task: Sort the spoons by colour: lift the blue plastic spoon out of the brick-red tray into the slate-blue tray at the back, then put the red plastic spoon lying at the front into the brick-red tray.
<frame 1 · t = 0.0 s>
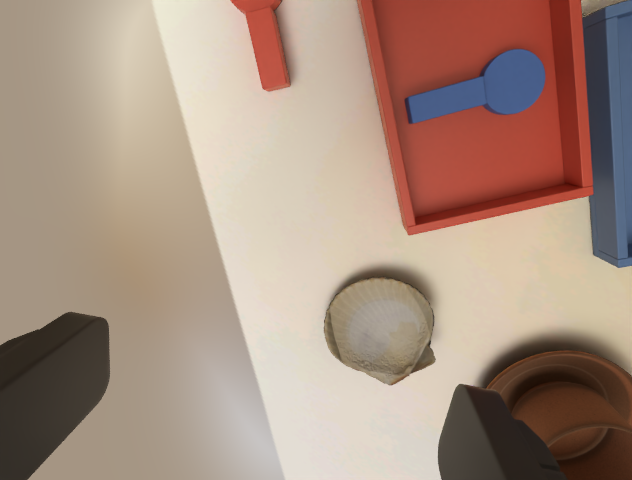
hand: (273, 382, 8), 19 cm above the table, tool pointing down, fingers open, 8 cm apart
red tray: (467, 95, 24), on the table
seashell: (378, 319, 29), on the table
blue spoon: (470, 94, 23), point 1 cm above the table, touching red tray
cup and saucer: (545, 403, 30), on the table
red spoon: (265, 23, 24), on the table
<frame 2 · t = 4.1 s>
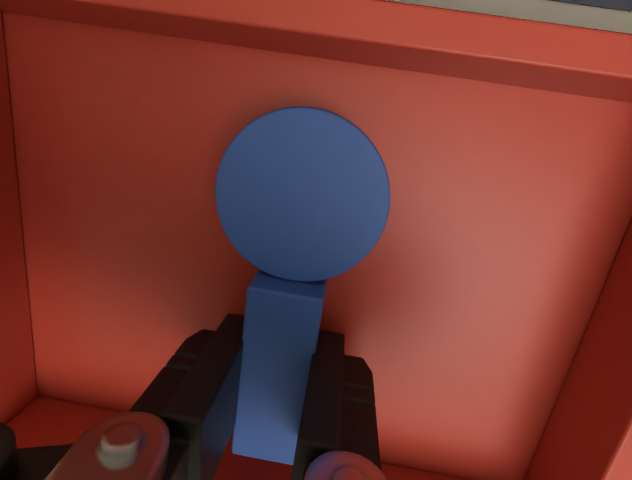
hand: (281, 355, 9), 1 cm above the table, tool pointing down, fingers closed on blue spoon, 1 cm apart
red tray: (297, 271, 10), on the table
blue spoon: (294, 280, 9), point 1 cm above the table, touching gripper, red tray
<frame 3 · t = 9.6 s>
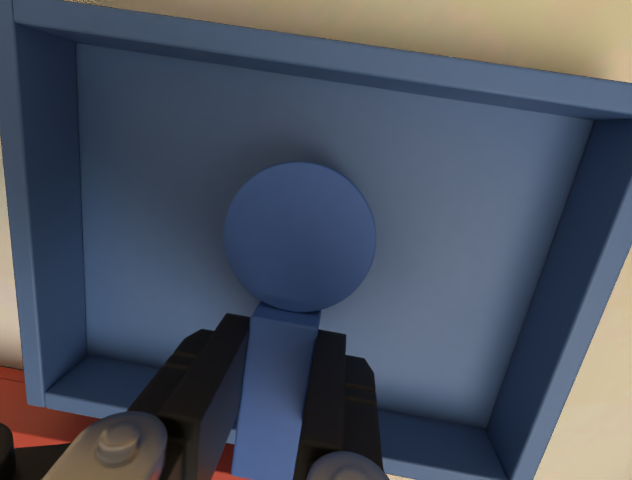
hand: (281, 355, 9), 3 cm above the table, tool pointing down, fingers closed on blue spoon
blue tray: (304, 249, 12), on the table
blue spoon: (291, 311, 10), point 2 cm above the table, touching blue tray, gripper
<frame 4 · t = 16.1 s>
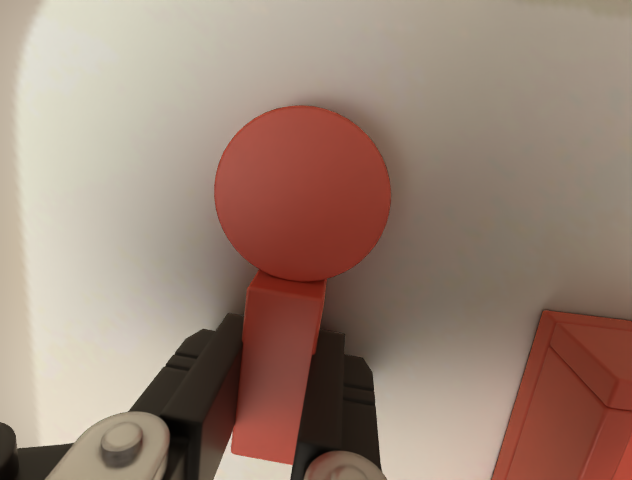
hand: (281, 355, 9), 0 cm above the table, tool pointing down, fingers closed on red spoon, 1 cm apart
red spoon: (293, 280, 9), on the table, touching gripper
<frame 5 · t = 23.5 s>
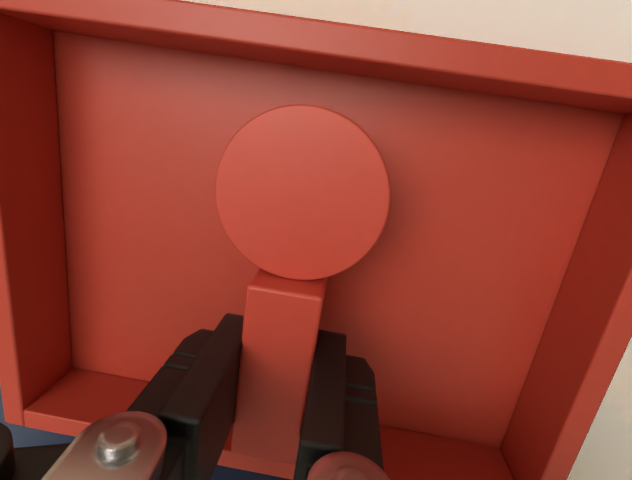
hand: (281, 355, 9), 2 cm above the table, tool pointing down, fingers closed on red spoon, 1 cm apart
red tray: (303, 255, 11), on the table
red spoon: (294, 278, 9), point 2 cm above the table, touching gripper
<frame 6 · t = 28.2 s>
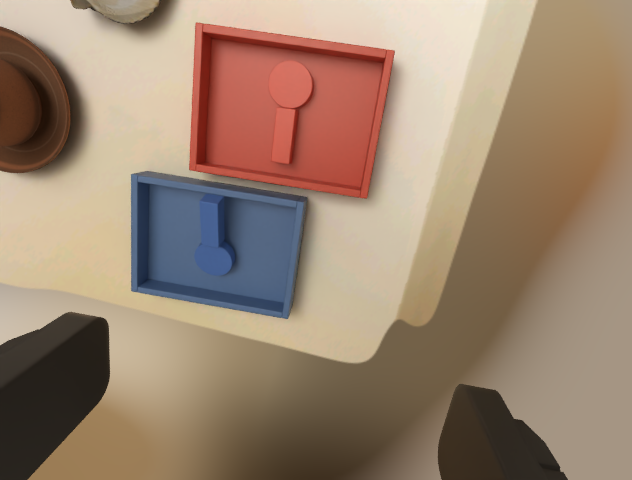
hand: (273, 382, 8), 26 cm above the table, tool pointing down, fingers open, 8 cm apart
red tray: (290, 115, 32), on the table
blue tray: (222, 241, 36), on the table
blue spoon: (216, 234, 34), point 2 cm above the table, tilted 15°, touching blue tray
cup and saucer: (21, 104, 34), on the table
red spoon: (288, 113, 31), point 1 cm above the table, touching red tray
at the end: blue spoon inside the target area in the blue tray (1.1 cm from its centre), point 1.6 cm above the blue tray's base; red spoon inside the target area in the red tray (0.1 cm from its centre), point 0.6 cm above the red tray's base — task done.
